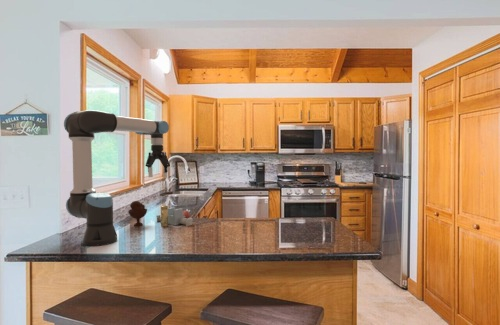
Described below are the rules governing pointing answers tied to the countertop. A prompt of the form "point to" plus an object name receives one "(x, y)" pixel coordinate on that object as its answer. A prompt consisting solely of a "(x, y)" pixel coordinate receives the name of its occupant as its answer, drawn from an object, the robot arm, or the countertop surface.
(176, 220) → the valve
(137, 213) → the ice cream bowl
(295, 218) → the countertop surface
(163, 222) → the brass nipple
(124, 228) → the countertop surface
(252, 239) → the countertop surface
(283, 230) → the countertop surface
